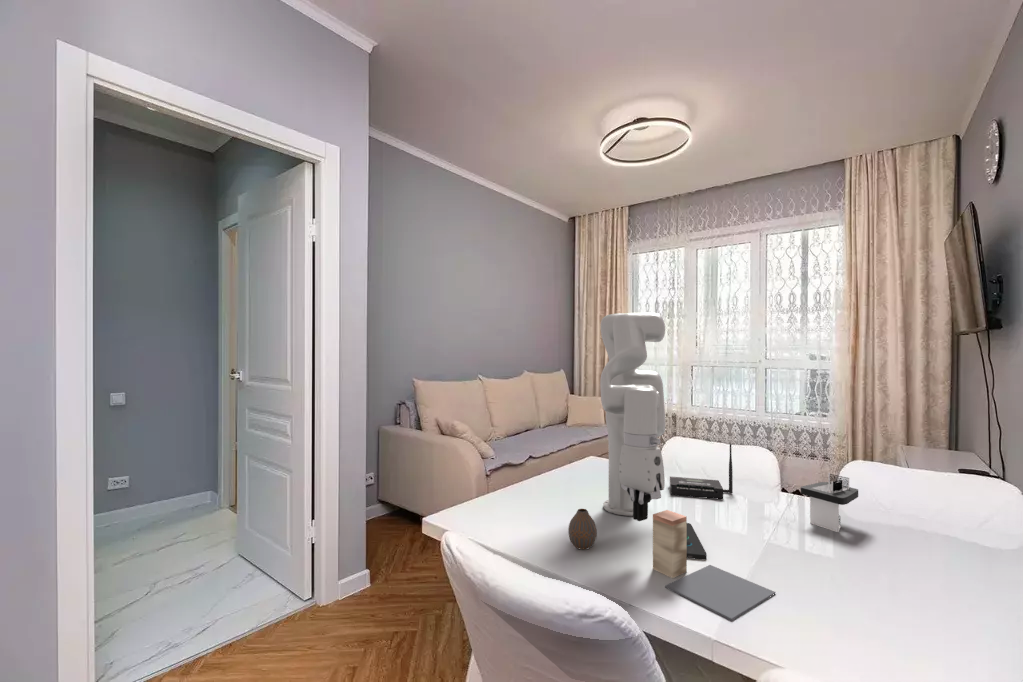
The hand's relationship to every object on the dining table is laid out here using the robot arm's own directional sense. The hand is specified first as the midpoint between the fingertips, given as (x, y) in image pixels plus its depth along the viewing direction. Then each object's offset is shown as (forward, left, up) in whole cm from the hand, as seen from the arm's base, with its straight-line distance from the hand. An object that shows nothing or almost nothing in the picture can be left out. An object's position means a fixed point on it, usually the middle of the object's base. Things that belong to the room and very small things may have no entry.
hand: (640, 519), depth 107 cm
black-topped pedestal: (-61, +17, -9) cm, 64 cm away
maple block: (0, +8, -9) cm, 12 cm away
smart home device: (-16, 0, -10) cm, 19 cm away
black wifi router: (-56, -20, -9) cm, 60 cm away
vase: (+7, -12, -9) cm, 17 cm away
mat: (-1, +19, -9) cm, 21 cm away
